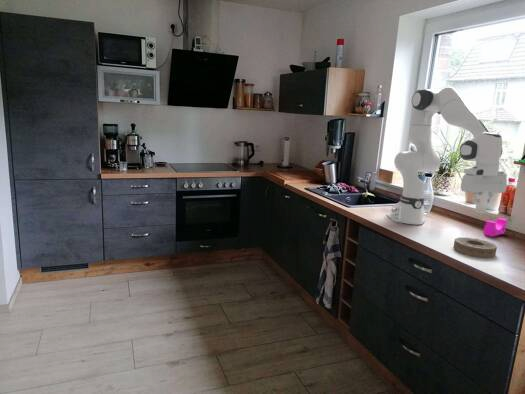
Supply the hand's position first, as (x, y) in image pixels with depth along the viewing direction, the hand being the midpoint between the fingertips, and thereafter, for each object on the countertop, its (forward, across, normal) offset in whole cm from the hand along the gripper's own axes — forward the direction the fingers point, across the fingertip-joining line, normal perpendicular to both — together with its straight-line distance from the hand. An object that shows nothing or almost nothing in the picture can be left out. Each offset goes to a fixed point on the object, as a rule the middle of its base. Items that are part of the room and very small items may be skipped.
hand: (481, 202), depth 170 cm
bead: (+22, 0, 0) cm, 22 cm away
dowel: (+5, 0, 0) cm, 5 cm away
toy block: (+22, -34, -28) cm, 49 cm away
